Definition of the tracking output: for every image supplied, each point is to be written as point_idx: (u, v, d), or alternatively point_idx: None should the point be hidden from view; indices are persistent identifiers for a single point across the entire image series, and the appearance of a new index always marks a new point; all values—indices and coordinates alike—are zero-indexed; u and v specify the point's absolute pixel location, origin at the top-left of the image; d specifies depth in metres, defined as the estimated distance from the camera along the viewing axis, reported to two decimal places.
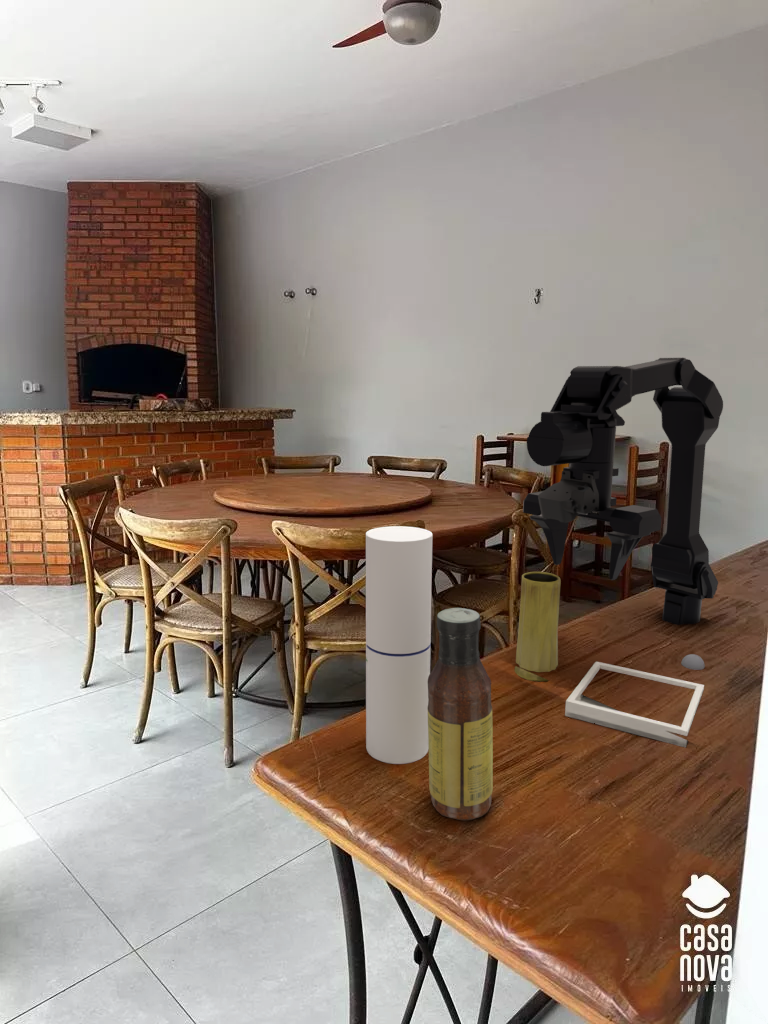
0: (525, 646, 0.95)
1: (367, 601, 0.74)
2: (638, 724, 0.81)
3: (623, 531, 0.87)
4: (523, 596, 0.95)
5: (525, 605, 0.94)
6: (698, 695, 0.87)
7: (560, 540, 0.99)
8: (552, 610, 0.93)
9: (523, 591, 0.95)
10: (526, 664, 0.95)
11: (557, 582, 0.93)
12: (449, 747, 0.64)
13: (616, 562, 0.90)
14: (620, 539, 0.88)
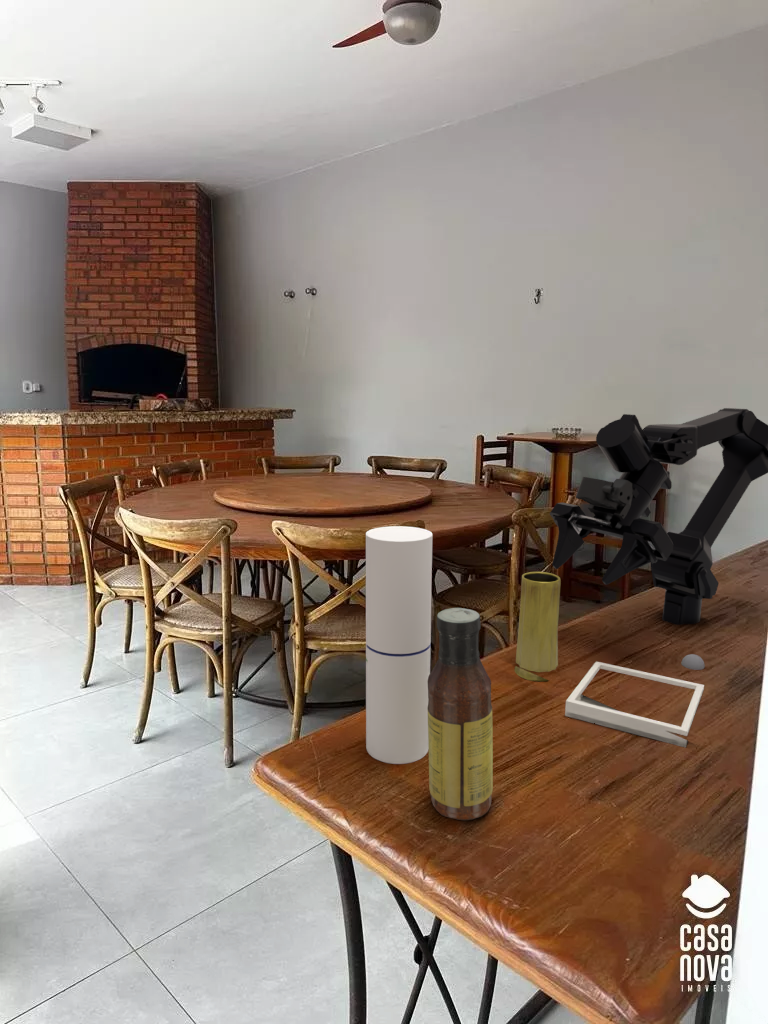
0: (525, 646, 0.95)
1: (367, 601, 0.74)
2: (638, 724, 0.81)
3: (641, 531, 0.93)
4: (523, 596, 0.95)
5: (525, 605, 0.94)
6: (698, 695, 0.87)
7: (567, 550, 1.04)
8: (552, 610, 0.93)
9: (523, 591, 0.95)
10: (526, 664, 0.95)
11: (557, 582, 0.93)
12: (449, 747, 0.64)
13: (616, 564, 0.95)
14: (633, 539, 0.94)
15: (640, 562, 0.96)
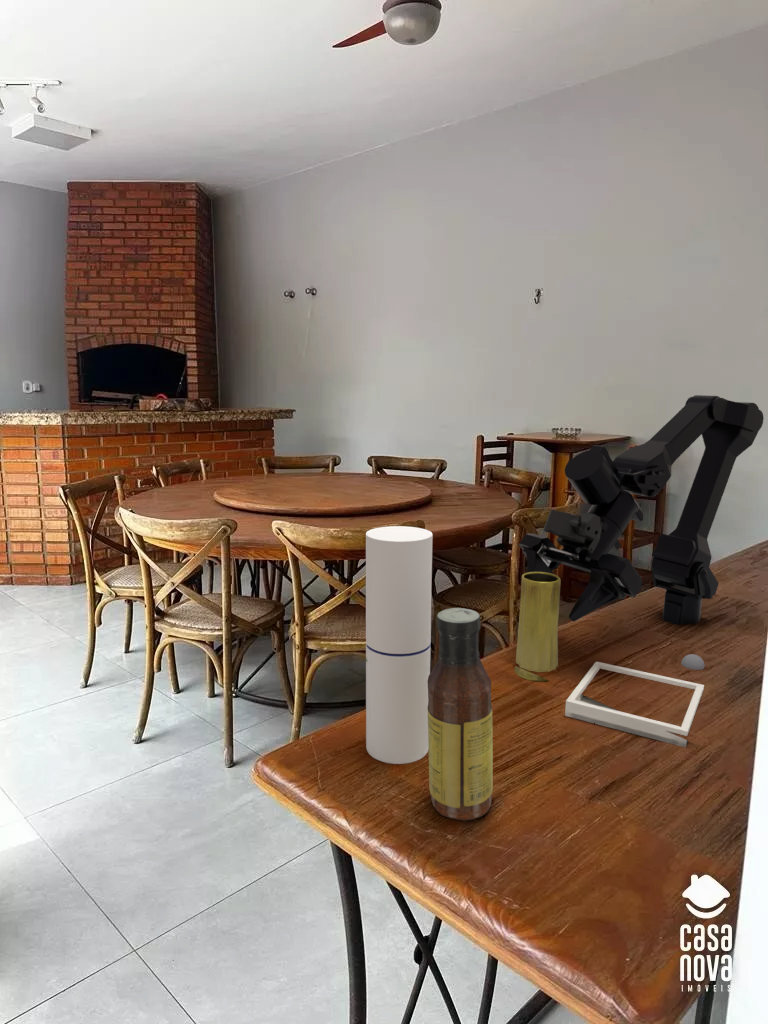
0: (525, 646, 0.95)
1: (367, 601, 0.74)
2: (638, 724, 0.81)
3: (608, 567, 0.91)
4: (523, 596, 0.95)
5: (525, 605, 0.94)
6: (698, 695, 0.87)
7: None
8: (552, 610, 0.93)
9: (523, 591, 0.95)
10: (526, 664, 0.95)
11: (557, 582, 0.93)
12: (449, 747, 0.64)
13: (583, 601, 0.92)
14: (600, 576, 0.91)
15: (608, 598, 0.94)
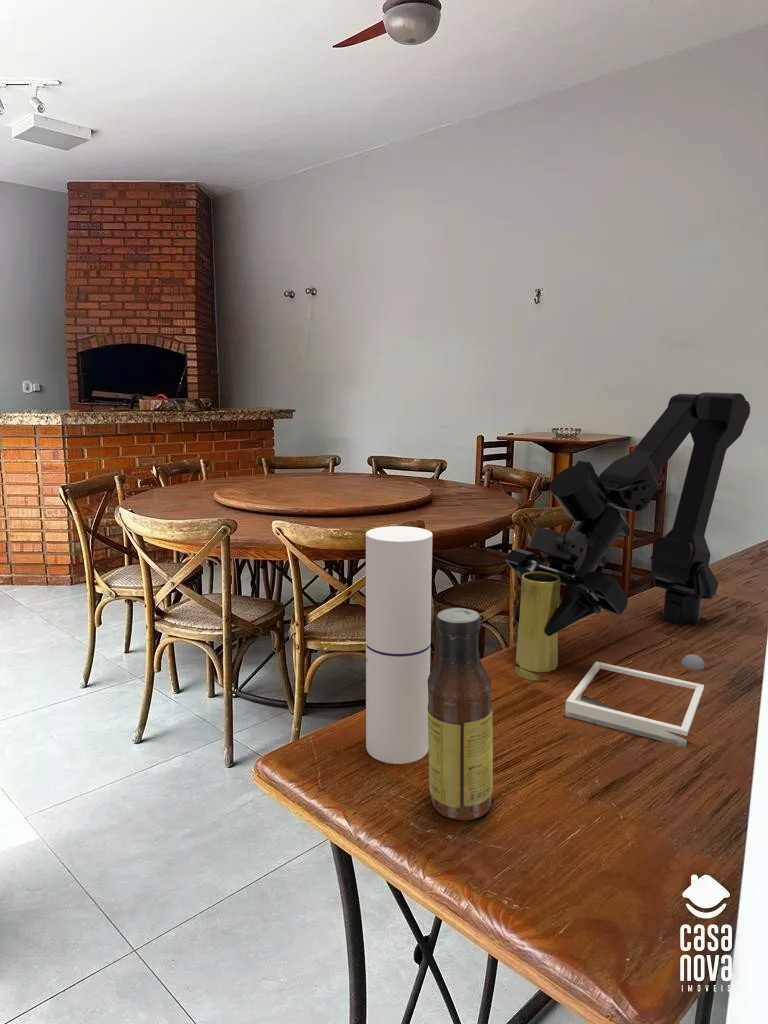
0: (525, 646, 0.95)
1: (367, 601, 0.74)
2: (638, 724, 0.81)
3: (593, 586, 0.90)
4: (523, 596, 0.95)
5: (525, 605, 0.94)
6: (698, 695, 0.87)
7: None
8: (552, 609, 0.93)
9: (523, 591, 0.95)
10: (526, 664, 0.95)
11: (557, 582, 0.93)
12: (449, 747, 0.64)
13: (559, 616, 0.93)
14: (575, 591, 0.91)
15: (584, 613, 0.94)
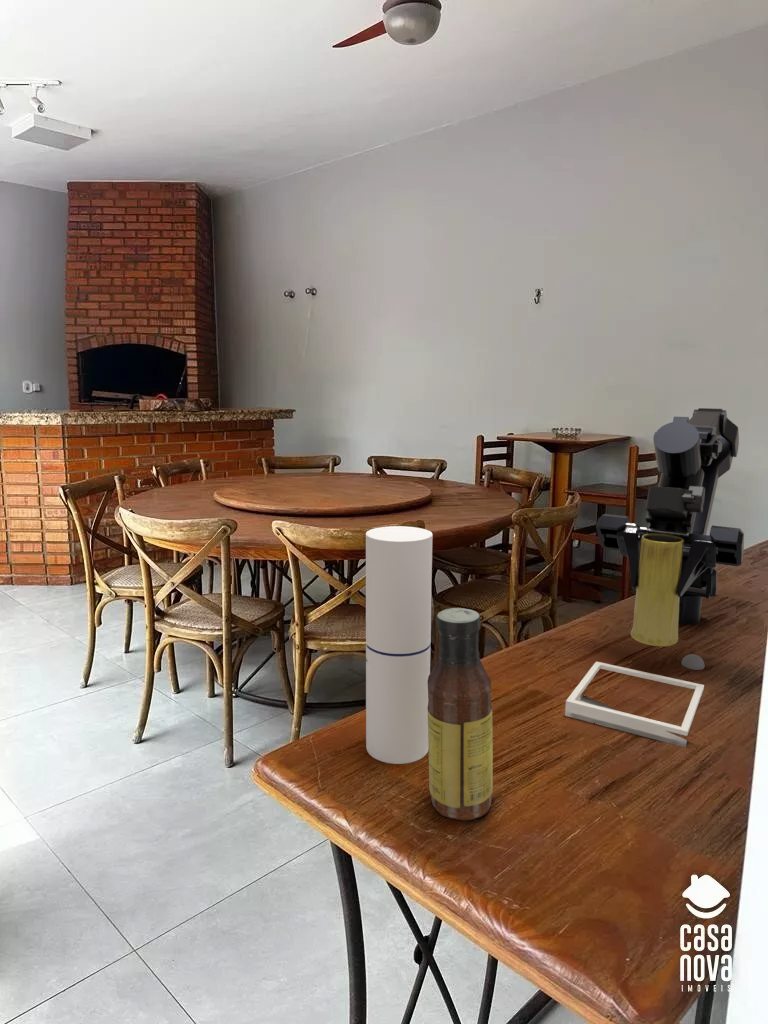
0: (655, 611, 0.91)
1: (367, 601, 0.74)
2: (638, 724, 0.81)
3: (726, 539, 0.89)
4: (650, 560, 0.91)
5: (655, 569, 0.90)
6: (698, 695, 0.87)
7: (638, 568, 0.95)
8: (679, 570, 0.91)
9: (650, 555, 0.90)
10: (656, 630, 0.91)
11: (683, 541, 0.91)
12: (449, 747, 0.64)
13: (689, 575, 0.90)
14: (705, 547, 0.90)
15: (701, 569, 0.93)
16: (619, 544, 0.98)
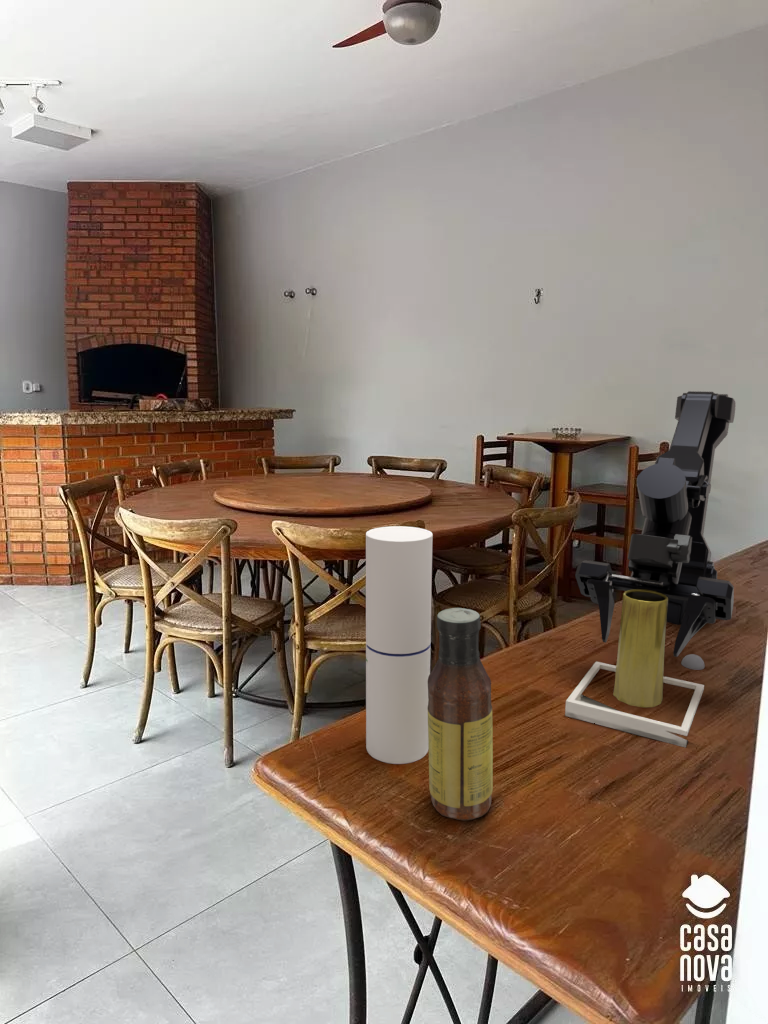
0: (637, 675, 0.84)
1: (367, 601, 0.74)
2: (638, 724, 0.81)
3: (714, 593, 0.82)
4: (632, 620, 0.84)
5: (637, 629, 0.84)
6: (698, 695, 0.87)
7: (610, 618, 0.89)
8: (664, 630, 0.84)
9: (632, 614, 0.84)
10: (639, 695, 0.85)
11: (667, 599, 0.84)
12: (449, 747, 0.64)
13: (686, 633, 0.83)
14: (703, 602, 0.82)
15: (699, 625, 0.85)
16: (590, 592, 0.91)
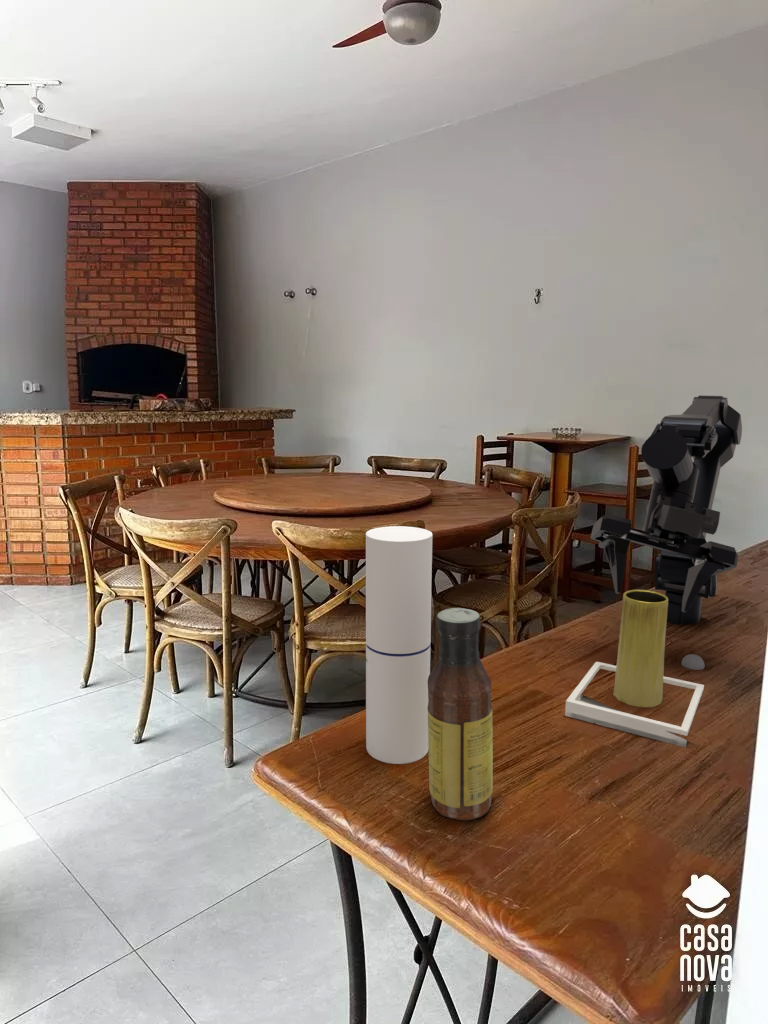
0: (637, 676, 0.84)
1: (367, 601, 0.74)
2: (638, 724, 0.81)
3: (725, 561, 0.93)
4: (632, 620, 0.84)
5: (637, 630, 0.83)
6: (698, 695, 0.87)
7: None
8: (664, 631, 0.84)
9: (633, 615, 0.84)
10: (639, 696, 0.85)
11: None
12: (449, 747, 0.64)
13: (697, 593, 0.94)
14: (716, 569, 0.93)
15: None
16: (604, 542, 0.97)
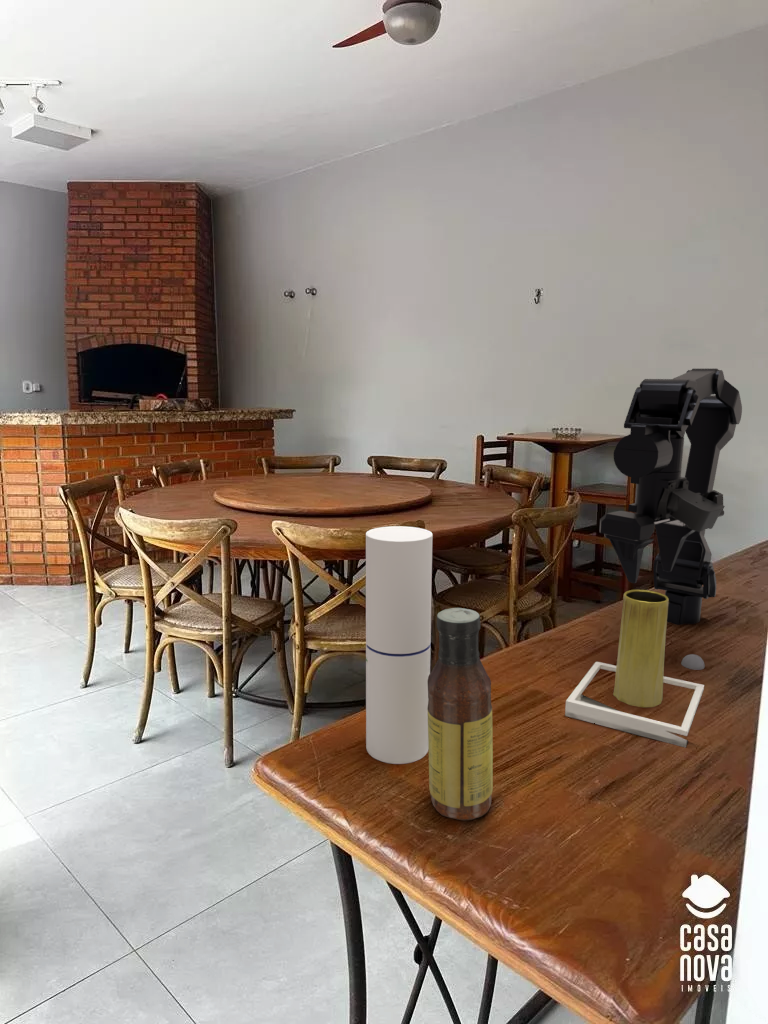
0: (637, 676, 0.84)
1: (367, 601, 0.74)
2: (638, 724, 0.81)
3: None
4: (633, 620, 0.84)
5: (637, 630, 0.84)
6: (698, 695, 0.87)
7: None
8: (664, 631, 0.84)
9: (633, 615, 0.84)
10: (639, 696, 0.85)
11: (668, 600, 0.84)
12: (449, 747, 0.64)
13: (678, 553, 1.01)
14: (695, 530, 1.00)
15: None
16: (623, 541, 0.93)
